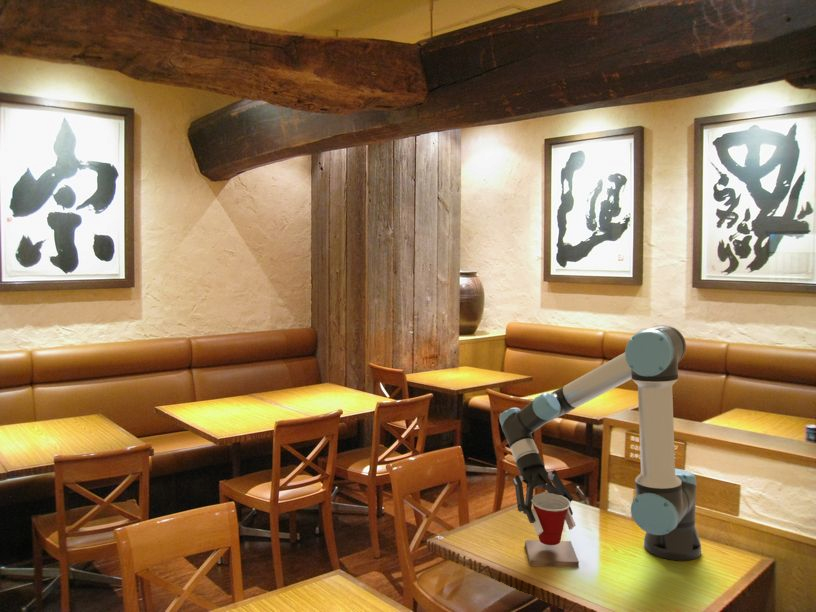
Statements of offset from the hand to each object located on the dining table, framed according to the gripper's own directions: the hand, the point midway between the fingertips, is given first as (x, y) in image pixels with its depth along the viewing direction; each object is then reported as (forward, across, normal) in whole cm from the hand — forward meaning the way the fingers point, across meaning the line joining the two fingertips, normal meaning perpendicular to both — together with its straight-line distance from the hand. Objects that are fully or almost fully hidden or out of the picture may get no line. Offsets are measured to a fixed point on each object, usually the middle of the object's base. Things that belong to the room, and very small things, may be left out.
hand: (556, 530), depth 185 cm
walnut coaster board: (+4, 0, -8) cm, 9 cm away
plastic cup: (+1, 0, -6) cm, 6 cm away
